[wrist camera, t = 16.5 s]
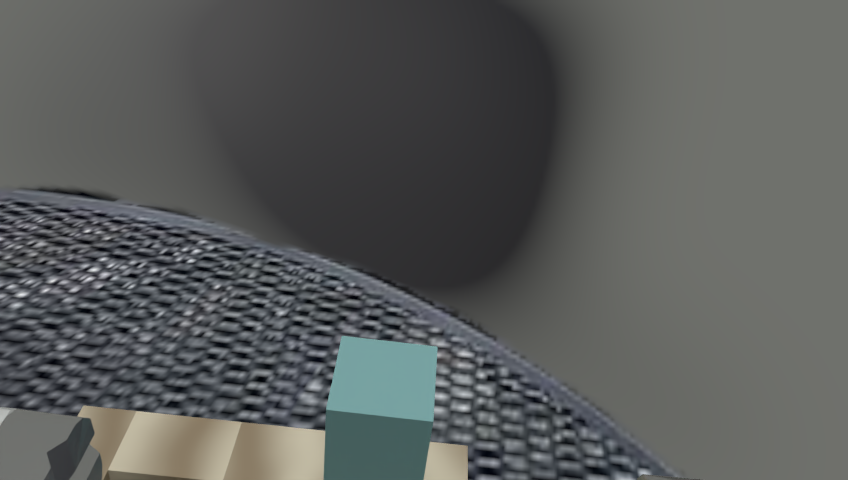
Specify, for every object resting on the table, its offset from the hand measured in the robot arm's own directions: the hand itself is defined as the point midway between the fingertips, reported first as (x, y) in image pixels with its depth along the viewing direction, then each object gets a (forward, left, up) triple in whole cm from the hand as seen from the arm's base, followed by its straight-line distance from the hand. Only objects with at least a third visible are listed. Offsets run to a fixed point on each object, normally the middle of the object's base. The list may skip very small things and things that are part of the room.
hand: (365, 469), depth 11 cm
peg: (0, +13, -24) cm, 27 cm away
